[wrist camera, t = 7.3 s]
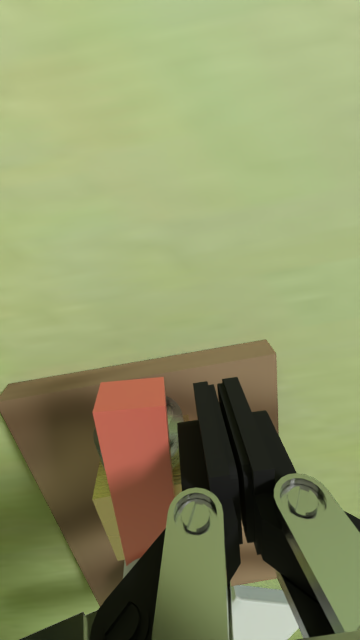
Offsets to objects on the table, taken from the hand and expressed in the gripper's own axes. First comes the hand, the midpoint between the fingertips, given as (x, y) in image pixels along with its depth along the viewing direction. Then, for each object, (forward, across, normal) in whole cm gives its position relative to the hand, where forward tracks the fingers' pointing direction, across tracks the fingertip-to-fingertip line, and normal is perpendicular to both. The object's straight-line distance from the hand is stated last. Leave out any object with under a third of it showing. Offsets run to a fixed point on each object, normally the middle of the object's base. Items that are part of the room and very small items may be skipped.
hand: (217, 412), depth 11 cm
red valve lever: (0, +3, +2) cm, 4 cm away
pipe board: (+6, +3, +10) cm, 12 cm away
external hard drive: (+7, -1, +31) cm, 32 cm away
